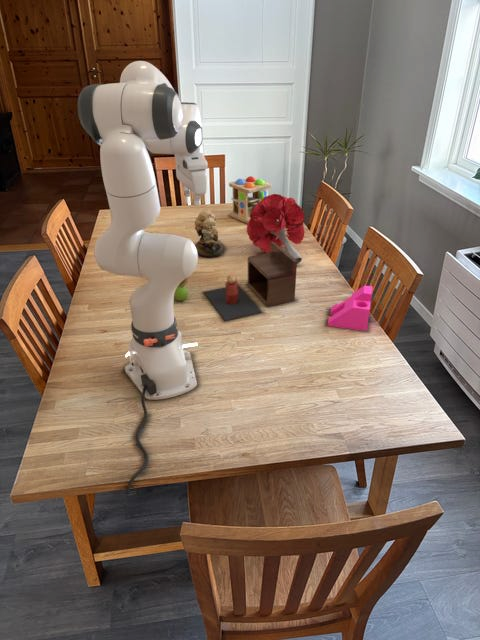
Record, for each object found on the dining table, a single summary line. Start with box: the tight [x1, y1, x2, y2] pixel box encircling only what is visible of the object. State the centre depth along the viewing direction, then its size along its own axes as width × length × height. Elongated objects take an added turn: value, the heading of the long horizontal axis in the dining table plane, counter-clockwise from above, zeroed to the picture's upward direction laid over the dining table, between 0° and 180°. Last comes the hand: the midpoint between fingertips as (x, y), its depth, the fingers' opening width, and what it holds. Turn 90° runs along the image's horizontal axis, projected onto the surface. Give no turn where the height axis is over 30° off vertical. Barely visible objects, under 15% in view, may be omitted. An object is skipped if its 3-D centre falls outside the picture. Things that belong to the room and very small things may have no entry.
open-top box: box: [247, 242, 298, 308], centre depth 170 cm, size 17×10×15 cm, turn 23°
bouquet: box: [246, 193, 306, 265], centre depth 195 cm, size 22×24×30 cm
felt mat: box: [203, 285, 263, 322], centre depth 168 cm, size 20×13×1 cm, turn 23°
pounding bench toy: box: [228, 175, 272, 225], centre depth 229 cm, size 23×14×18 cm, turn 40°
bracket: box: [327, 285, 373, 332], centre depth 156 cm, size 12×10×10 cm
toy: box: [224, 273, 239, 304], centre depth 166 cm, size 4×4×10 cm
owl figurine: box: [194, 209, 225, 258], centre depth 200 cm, size 18×12×17 cm, turn 10°
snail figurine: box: [174, 276, 190, 302], centre depth 166 cm, size 5×6×12 cm
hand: (191, 200), depth 162 cm, fingers open, 8 cm apart
